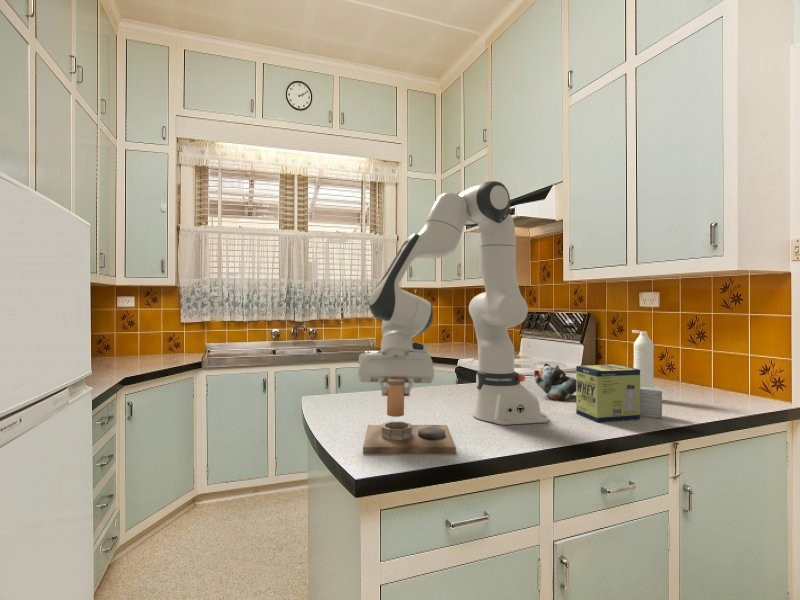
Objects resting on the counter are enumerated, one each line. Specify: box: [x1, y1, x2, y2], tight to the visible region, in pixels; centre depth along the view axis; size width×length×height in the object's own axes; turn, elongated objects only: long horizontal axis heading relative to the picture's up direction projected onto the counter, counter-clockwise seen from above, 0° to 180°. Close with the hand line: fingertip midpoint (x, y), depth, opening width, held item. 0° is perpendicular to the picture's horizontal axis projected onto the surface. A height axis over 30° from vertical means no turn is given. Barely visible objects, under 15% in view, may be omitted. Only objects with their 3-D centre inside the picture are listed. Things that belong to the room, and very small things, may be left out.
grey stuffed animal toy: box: [534, 363, 576, 402], centre depth 162 cm, size 15×12×14 cm
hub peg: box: [386, 378, 406, 418], centre depth 111 cm, size 4×4×9 cm
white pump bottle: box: [631, 329, 655, 388], centre depth 160 cm, size 9×6×25 cm
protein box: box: [575, 363, 641, 424], centre depth 134 cm, size 10×16×16 cm
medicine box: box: [640, 387, 663, 419], centre depth 135 cm, size 8×4×9 cm, turn 65°
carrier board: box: [362, 420, 457, 455], centre depth 111 cm, size 22×18×4 cm
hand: (395, 394), depth 110 cm, fingers closed on hub peg, 4 cm apart
